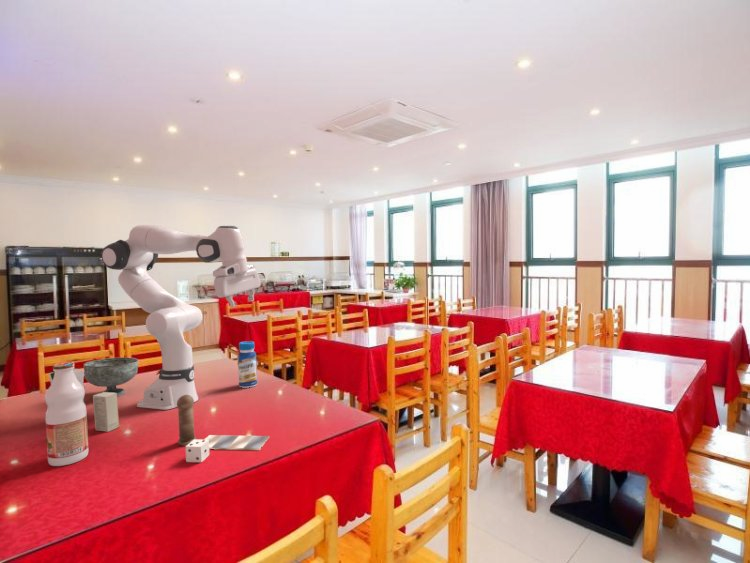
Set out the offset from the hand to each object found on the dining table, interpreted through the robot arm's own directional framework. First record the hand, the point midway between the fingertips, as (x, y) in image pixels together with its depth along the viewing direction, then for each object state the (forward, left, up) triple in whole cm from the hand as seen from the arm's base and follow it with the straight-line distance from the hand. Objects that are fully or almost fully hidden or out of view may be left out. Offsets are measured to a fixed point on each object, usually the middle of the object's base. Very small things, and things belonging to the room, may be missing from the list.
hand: (242, 303), depth 153 cm
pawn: (-7, -29, -41) cm, 51 cm away
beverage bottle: (-11, +29, -41) cm, 51 cm away
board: (+8, -29, -41) cm, 51 cm away
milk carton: (-61, -13, -41) cm, 74 cm away
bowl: (-66, +15, -41) cm, 79 cm away
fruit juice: (-36, -41, -41) cm, 68 cm away
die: (+2, -39, -41) cm, 57 cm away
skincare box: (-41, -20, -41) cm, 61 cm away
